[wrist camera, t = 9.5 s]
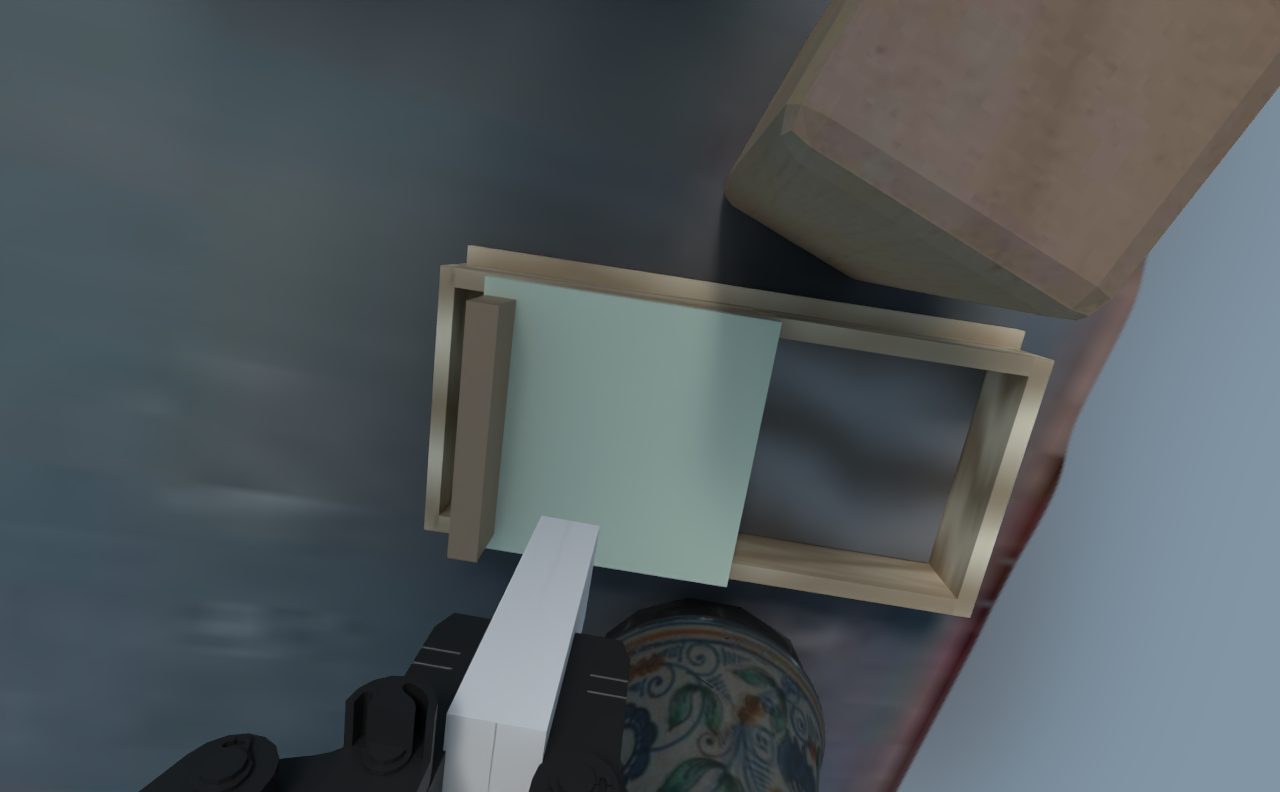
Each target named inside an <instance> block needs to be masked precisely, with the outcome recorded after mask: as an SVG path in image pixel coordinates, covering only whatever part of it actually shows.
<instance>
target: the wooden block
mask: <svg viewBox="0 0 1280 792" xmlns="http://www.w3.org/2000/svg"><path fill="white" fill-rule="evenodd" d="M1279 86H1280V0H832V1H831V2H830V4H829V6H828V7H827V9H826V10H825V12H824V13H823V15H822V16H821V18H820V19H819V21H818V22H817V24H816V26H815V27H814V29H813V30H812V32H811V33H810V35H809V36H808V38H807V40H806V42H805V43H804V45H803V47H802V48H801V50H800V52H799V54H798V55H797V57H796V59H795V61H794V62H793V64H792V66H791V67H790V69H789V71H788V73H787V74H786V76H785V78H784V80H783V81H782V83H781V85H780V87H779V88H778V90H777V92H776V93H775V95H774V97H773V99H772V100H771V102H770V104H769V106H768V107H767V109H766V111H765V112H764V114H763V116H762V118H761V119H760V121H759V123H758V125H757V126H756V128H755V130H754V131H753V133H752V135H751V137H750V138H749V140H748V142H747V144H746V145H745V147H744V149H743V150H742V152H741V154H740V156H739V157H738V159H737V161H736V163H735V164H734V166H733V168H732V169H731V171H730V173H729V175H728V176H727V178H726V181H725V188H724V195H725V197H726V198H727V199H728V201H729V202H730V204H731V205H732V206H734V207H735V208H737V209H738V210H740V211H742V212H743V213H745V214H747V215H748V216H750V217H752V218H753V219H755V220H757V221H758V222H760V223H761V224H763V225H765V226H766V227H768V228H770V229H771V230H773V231H775V232H776V233H778V234H780V235H781V236H783V237H784V238H786V239H788V240H789V241H791V242H793V243H794V244H796V245H798V246H799V247H801V248H803V249H804V250H806V251H807V252H809V253H811V254H812V255H814V256H816V257H817V258H819V259H821V260H822V261H824V262H826V263H827V264H829V265H830V266H832V267H834V268H835V269H837V270H839V271H840V272H842V273H844V274H845V275H847V276H849V277H850V278H852V279H854V280H859V281H864V282H870V283H875V284H880V285H885V286H890V287H896V288H901V289H906V290H911V291H917V292H922V293H927V294H932V295H938V296H943V297H948V298H953V299H958V300H964V301H969V302H974V303H979V304H985V305H990V306H995V307H1000V308H1005V309H1011V310H1016V311H1021V312H1026V313H1032V314H1037V315H1042V316H1047V317H1055V318H1062V319H1070V320H1078V319H1081V318H1084V317H1088V316H1090V315H1091V314H1093V313H1094V312H1095V311H1097V310H1098V309H1100V308H1101V307H1102V306H1104V305H1105V304H1106V303H1108V302H1109V301H1111V300H1112V299H1113V297H1114V296H1115V295H1116V294H1117V292H1118V291H1119V290H1120V289H1121V287H1122V286H1123V285H1124V283H1125V282H1126V281H1127V280H1128V278H1129V277H1130V276H1131V275H1132V273H1133V272H1134V271H1135V269H1136V268H1137V267H1138V266H1139V264H1140V263H1141V262H1142V261H1143V259H1144V258H1145V257H1146V255H1147V254H1148V253H1149V252H1150V250H1151V249H1152V248H1153V247H1154V245H1155V244H1156V243H1157V241H1158V240H1159V239H1160V237H1161V236H1162V235H1163V234H1164V233H1165V231H1166V230H1167V229H1168V227H1169V226H1170V225H1171V224H1172V222H1173V221H1174V220H1175V219H1176V217H1177V216H1178V215H1179V214H1180V212H1181V211H1182V210H1183V208H1184V207H1185V206H1186V205H1187V203H1188V202H1189V201H1190V199H1191V198H1192V197H1193V196H1194V194H1195V193H1196V192H1197V191H1198V189H1199V188H1200V187H1201V186H1202V184H1203V183H1204V182H1205V180H1206V179H1207V178H1208V177H1209V175H1210V174H1211V173H1212V172H1213V170H1214V169H1215V168H1216V166H1217V165H1218V164H1219V163H1220V161H1221V160H1222V159H1223V157H1224V156H1225V155H1226V154H1227V152H1228V151H1229V150H1230V149H1231V147H1232V146H1233V145H1234V144H1235V142H1236V141H1237V140H1238V138H1239V137H1240V136H1241V135H1242V133H1243V132H1244V131H1245V129H1246V128H1247V127H1248V126H1249V124H1250V123H1251V122H1252V120H1253V119H1254V118H1255V117H1256V116H1257V114H1258V113H1259V112H1260V110H1261V109H1262V108H1263V107H1264V105H1265V104H1266V103H1267V101H1268V100H1269V99H1270V98H1271V96H1272V95H1273V94H1274V93H1275V91H1276V90H1277V89H1278V88H1279Z"/></svg>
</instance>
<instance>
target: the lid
mask: <svg viewBox="0 0 1280 792" xmlns="http://www.w3.org/2000/svg"><path fill="white" fill-rule="evenodd" d="M781 325H782V322H781V321H779V320H774V319H767V318H761V317H754V316H748V315H741V314H735V313H728V312H722V311H716V310H709V309H703V308H696V307H690V306H683V305H677V304H670V303H664V302H657V301H651V300H645V299H638V298H632V297H625V296H619V295H612V294H606V293H599V292H593V291H587V290H580V289H574V288H567V287H561V286H554V285H548V284H541V283H535V282H528V281H522V280H516V279H509V278H503V277H496V276H485V284H484V296H481V297H477V298H473V299H470V300H466V313H465V326H464V339H463V353H462V366H461V379H460V393H459V406H458V420H457V433H456V446H455V460H454V473H453V486H452V500H451V513H450V527H449V540H448V553H447V558H451V559H458V560H464V561H470V562H476V563H477V561H478V559H479V558H480V556H481V554H482V553H483V551H484V550H485V548H488V549H494V550H500V551H506V552H513V553H519V554H523V553H524V551H525V549H526V547H527V545H528V543H529V541H530V539H531V537H532V534H533V532H534V530H535V528H536V526H537V524H538V522H539V520H540V518H541V516H547V517H552V518H558V519H564V520H569V521H575V522H581V523H586V524H592V525H598V526H600V527H599V533H598V540H597V546H596V552H595V558H594V564H593V566H599V567H605V568H611V569H617V570H623V571H630V572H636V573H642V574H648V575H654V576H660V577H666V578H673V579H679V580H685V581H691V582H697V583H703V584H710V585H716V586H722V587H727V584H728V579H729V574H730V570H731V565H732V560H733V555H734V550H735V546H736V541H737V536H738V531H739V526H740V522H741V517H742V512H743V507H744V502H745V498H746V493H747V488H748V483H749V479H750V474H751V469H752V464H753V459H754V455H755V450H756V445H757V440H758V435H759V431H760V426H761V421H762V416H763V411H764V407H765V402H766V397H767V392H768V387H769V383H770V378H771V373H772V368H773V364H774V359H775V354H776V349H777V344H778V340H779V335H780V330H781Z"/></svg>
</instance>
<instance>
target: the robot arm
mask: <svg viewBox="0 0 1280 792" xmlns="http://www.w3.org/2000/svg"><path fill="white" fill-rule="evenodd" d="M599 527H600V526H598V525H592V524H586V523H581V522H575V521H569V520H564V519H558V518H552V517H547V516H541V518H540V520H539V522H538V524H537V526H536V528H535V530H534V532H533V534H532V537H531V539H530V541H529V543H528V545H527V547H526V549H525V551H524V553H523V555H522V557H521V559H520V562H519V564H518V566H517V568H516V570H515V572H514V574H513V576H512V578H511V580H510V582H509V585H508V587H507V589H506V591H505V593H504V595H503V597H502V599H501V601H500V603H499V605H498V608H497V610H496V612H495V614H494V616H493V618H492V619H486V618H481V617H475V616H469V615H464V614H458V613H453V614H452V615H450V616H449V617H448V618H446V619H445V620H443V621H442V622H441V623H439V624H438V625H436V626H435V627H434V629H433V630H432V632H431V634H430V635H429V637H428V638H427V640H426V642H425V643H424V645H423V648H422V649H421V650H420V651H419V653H418V655H417V656H416V658H415V659H414V663H413V664H411V666H410V668H409V669H408V671H407V672H406V674H405V676H390V677H385V678H381V679H377V680H373V681H372V682H370V683H368V684H366V685H364V686H362V687H360V688H358V689H357V690H356V691H355V692H354V693H353V694H352V695H351V696H350V697H349V698H348V699H347V700H346V710H345V732H344V747H343V748H341V749H338V750H335V751H332V752H329V753H324V754H319V755H313V756H303V757H294V758H284V759H279V756H278V752H277V748H276V746H275V745H274V744H273V743H272V742H270V741H269V740H268V739H267V738H266V737H262V736H258V735H253V734H249V733H248V734H238V735H228V736H225V737H222V738H219V739H216V740H213V741H210V742H208V743H206V744H204V745H202V746H201V747H199V748H197V749H196V750H194V751H192V752H191V753H189V754H187V755H186V756H185V757H183V758H182V759H181V760H180V761H178V762H177V763H176V764H174V765H173V766H172V767H170V768H169V769H168V770H167V771H165V772H164V773H163V774H161V775H160V776H159V777H157V778H156V779H155V780H154V781H152V782H151V783H150V784H148V785H147V786H146V787H145V788H143V789H142V790H141V791H139V792H628V790H627V789H626V787H625V785H624V783H623V780H622V776H621V771H620V759H621V749H622V739H623V729H624V719H625V710H626V698H627V690H628V680H629V670H630V661H631V659H630V657H629V655H628V653H627V650H626V648H625V646H624V643H623V641H620V640H614V639H609V638H603V637H598V636H592V635H586V634H581V632H582V628H583V624H584V620H585V614H586V608H587V602H588V595H589V589H590V583H591V577H592V571H593V564H594V558H595V552H596V546H597V540H598V533H599Z"/></svg>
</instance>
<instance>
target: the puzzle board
mask: <svg viewBox="0 0 1280 792" xmlns="http://www.w3.org/2000/svg"><path fill="white" fill-rule="evenodd" d="M485 276H496V277H503V278H509V279H516V280H522V281H528V282H535V283H541V284H548V285H554V286H561V287H567V288H574V289H580V290H587V291H593V292H599V293H606V294H612V295H619V296H625V297H632V298H638V299H645V300H651V301H657V302H664V303H670V304H677V305H683V306H690V307H696V308H703V309H709V310H716V311H722V312H728V313H735V314H741V315H748V316H754V317H761V318H767V319H774V320H779V321H781V322H782V325H781V330H780V335H779V340H778V344H777V349H776V354H775V359H774V364H773V368H772V373H771V378H770V383H769V387H768V392H767V397H766V402H765V407H764V411H763V416H762V421H761V426H760V431H759V435H758V440H757V445H756V450H755V455H754V459H753V464H752V469H751V474H750V479H749V483H748V488H747V493H746V498H745V502H744V507H743V512H742V517H741V522H740V526H739V531H738V536H737V541H736V546H735V550H734V555H733V560H732V565H731V570H730V574H729V579H733V580H739V581H745V582H752V583H758V584H764V585H770V586H776V587H782V588H789V589H795V590H801V591H807V592H813V593H819V594H826V595H832V596H838V597H844V598H850V599H856V600H863V601H869V602H875V603H881V604H887V605H893V606H900V607H906V608H912V609H918V610H924V611H930V612H937V613H943V614H949V615H955V616H961V617H967V618H970V617H971V614H972V611H973V608H974V605H975V602H976V599H977V596H978V592H979V589H980V586H981V583H982V580H983V577H984V574H985V571H986V568H987V565H988V562H989V559H990V556H991V553H992V550H993V547H994V544H995V541H996V538H997V535H998V532H999V529H1000V526H1001V523H1002V520H1003V517H1004V513H1005V510H1006V507H1007V504H1008V501H1009V498H1010V495H1011V492H1012V489H1013V486H1014V483H1015V480H1016V477H1017V474H1018V471H1019V468H1020V465H1021V462H1022V459H1023V456H1024V453H1025V450H1026V447H1027V444H1028V441H1029V437H1030V434H1031V431H1032V428H1033V425H1034V422H1035V419H1036V416H1037V413H1038V410H1039V407H1040V404H1041V401H1042V398H1043V395H1044V392H1045V389H1046V386H1047V383H1048V380H1049V377H1050V374H1051V371H1052V368H1053V365H1054V362H1055V360H1051V359H1048V358H1045V357H1042V356H1038V355H1035V354H1032V353H1028V352H1025V351H1022V350H1020V348H1021V345H1022V341H1023V338H1024V335H1025V332H1026V331H1022V330H1018V329H1013V328H1006V327H1000V326H993V325H987V324H980V323H974V322H967V321H961V320H954V319H948V318H941V317H935V316H928V315H922V314H915V313H909V312H902V311H896V310H889V309H883V308H876V307H870V306H864V305H857V304H851V303H844V302H838V301H831V300H825V299H818V298H812V297H805V296H799V295H792V294H786V293H779V292H773V291H766V290H760V289H753V288H747V287H740V286H734V285H727V284H721V283H714V282H708V281H702V280H695V279H689V278H682V277H676V276H669V275H663V274H656V273H650V272H643V271H637V270H630V269H624V268H617V267H611V266H604V265H598V264H591V263H585V262H578V261H572V260H565V259H559V258H552V257H546V256H539V255H533V254H527V253H520V252H514V251H507V250H501V249H494V248H488V247H481V246H475V245H468V252H467V263H461V264H450V265H441V267H440V283H439V299H438V315H437V331H436V346H435V362H434V378H433V394H432V410H431V426H430V442H429V457H428V473H427V489H426V505H425V521H424V529H425V530H431V531H437V532H443V533H449V527H450V513H451V500H452V486H453V473H454V460H455V446H456V433H457V420H458V406H459V393H460V379H461V366H462V353H463V339H464V326H465V313H466V300H470V299H473V298H477V297H481V296H484V284H485Z"/></svg>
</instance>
